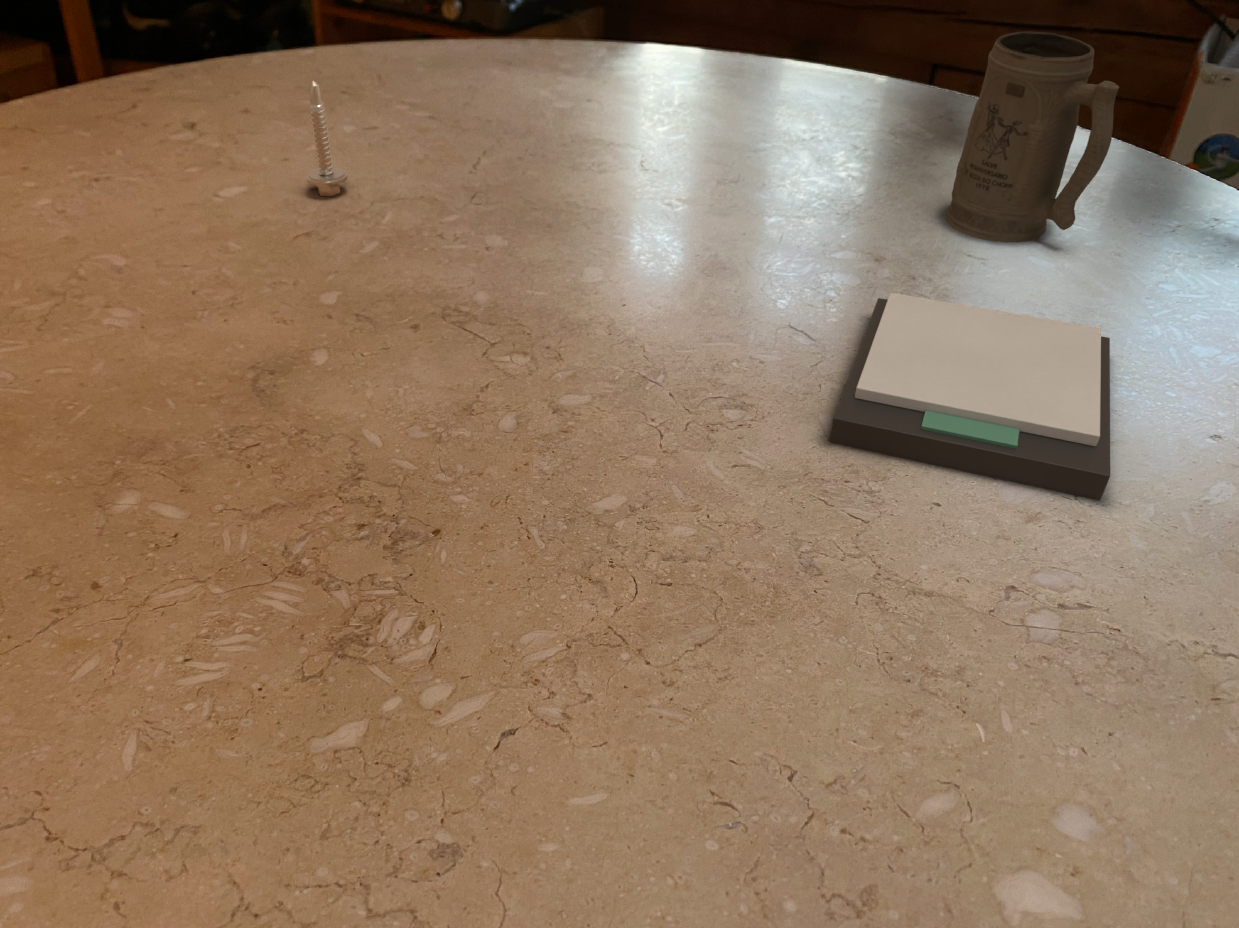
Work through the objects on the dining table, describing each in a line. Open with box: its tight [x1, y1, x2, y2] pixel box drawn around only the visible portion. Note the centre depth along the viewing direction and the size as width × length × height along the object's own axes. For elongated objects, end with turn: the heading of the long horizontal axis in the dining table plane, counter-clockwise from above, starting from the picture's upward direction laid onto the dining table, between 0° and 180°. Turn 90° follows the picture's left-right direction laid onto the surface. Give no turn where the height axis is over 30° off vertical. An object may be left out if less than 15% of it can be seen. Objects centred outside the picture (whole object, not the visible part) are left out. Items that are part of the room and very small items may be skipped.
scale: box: [828, 292, 1111, 501], centre depth 87 cm, size 20×22×4 cm
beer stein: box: [944, 31, 1120, 243], centre depth 109 cm, size 15×11×20 cm
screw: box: [305, 80, 349, 198], centre depth 121 cm, size 13×5×5 cm
